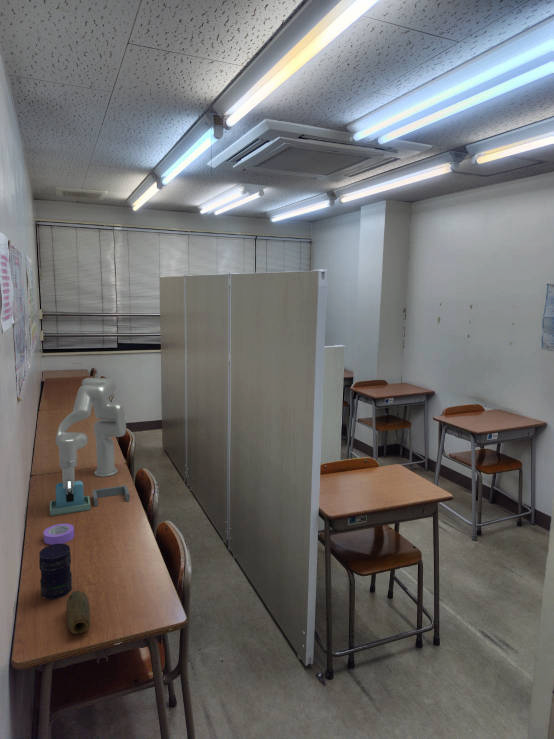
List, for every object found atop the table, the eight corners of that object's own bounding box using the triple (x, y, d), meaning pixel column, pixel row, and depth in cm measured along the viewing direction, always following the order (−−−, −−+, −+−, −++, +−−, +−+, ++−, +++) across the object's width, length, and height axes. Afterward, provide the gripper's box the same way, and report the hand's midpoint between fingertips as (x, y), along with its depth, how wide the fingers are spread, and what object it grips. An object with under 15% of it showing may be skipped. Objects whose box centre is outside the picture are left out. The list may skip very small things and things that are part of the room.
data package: (83, 503, 231) (82, 480, 229) (84, 507, 227) (83, 483, 225) (56, 507, 226) (55, 483, 224) (56, 511, 222) (55, 487, 220)
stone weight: (63, 611, 153) (62, 592, 152) (86, 604, 157) (85, 586, 156) (69, 640, 141) (68, 620, 140) (94, 632, 144) (93, 612, 143)
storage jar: (40, 602, 157) (37, 561, 155) (41, 585, 166) (39, 546, 164) (72, 595, 161) (70, 555, 159) (72, 579, 170) (70, 541, 168)
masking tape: (39, 538, 199) (38, 529, 198) (67, 528, 207) (66, 520, 206) (50, 548, 191) (50, 539, 190) (79, 538, 199) (78, 529, 199)
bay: (92, 497, 239) (92, 489, 238) (126, 492, 246) (126, 485, 245) (94, 506, 229) (94, 498, 228) (129, 501, 236) (129, 493, 235)
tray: (50, 507, 227) (49, 501, 227) (89, 501, 234) (89, 495, 234) (49, 516, 218) (49, 510, 217) (90, 510, 225) (90, 504, 225)
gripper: (59, 458, 229) (61, 492, 231) (59, 470, 213) (61, 506, 216) (76, 456, 232) (77, 490, 235) (77, 468, 216) (79, 504, 219)
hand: (69, 498), depth 225 cm, fingers open, 7 cm apart
